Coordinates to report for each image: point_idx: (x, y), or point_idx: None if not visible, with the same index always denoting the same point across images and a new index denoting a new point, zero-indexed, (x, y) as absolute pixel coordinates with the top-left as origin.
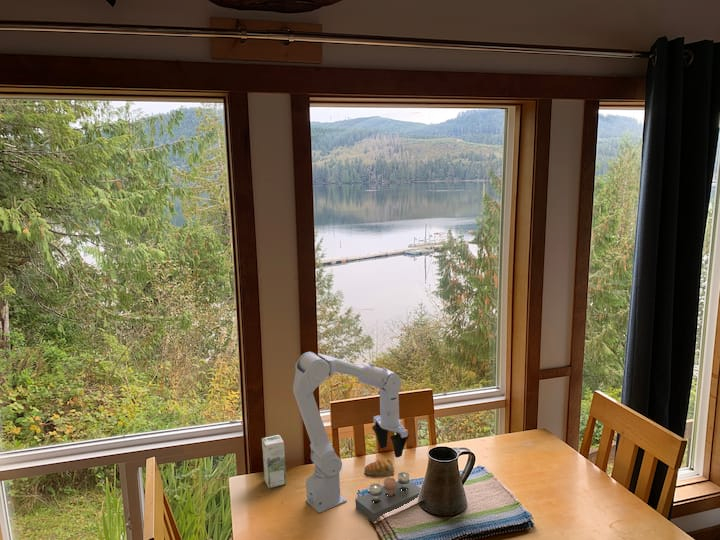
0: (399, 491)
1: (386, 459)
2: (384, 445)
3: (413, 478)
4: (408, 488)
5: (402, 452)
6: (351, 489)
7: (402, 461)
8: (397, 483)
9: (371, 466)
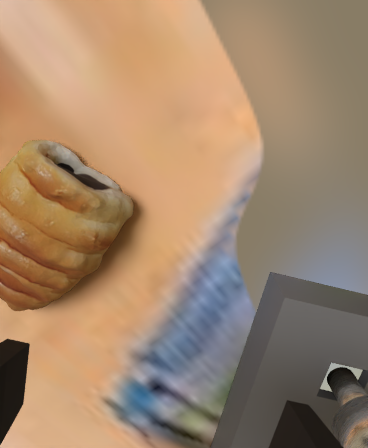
0: (335, 412)
1: (29, 183)
2: (12, 388)
3: (253, 171)
4: (364, 369)
5: (335, 441)
6: (80, 413)
7: (67, 37)
8: (281, 364)
9: (19, 287)
